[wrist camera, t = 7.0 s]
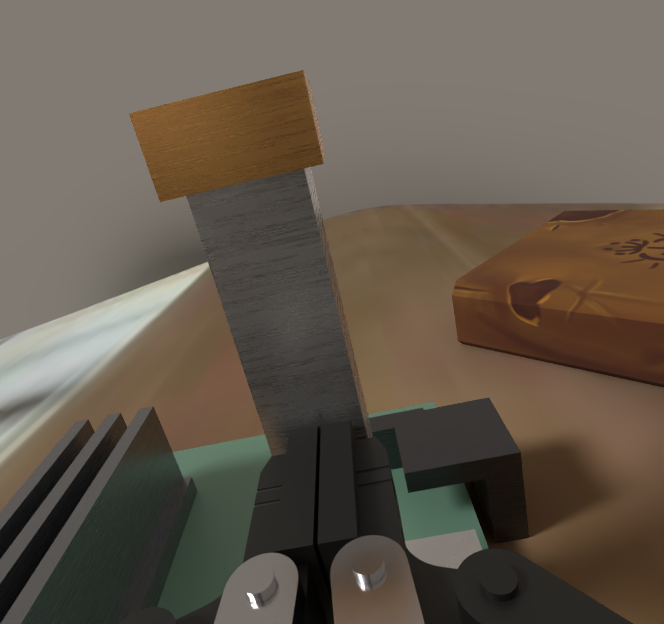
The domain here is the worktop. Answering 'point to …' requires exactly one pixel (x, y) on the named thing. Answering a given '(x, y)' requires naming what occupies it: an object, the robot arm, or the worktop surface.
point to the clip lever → (271, 255)
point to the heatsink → (177, 500)
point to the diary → (574, 295)
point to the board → (237, 507)
